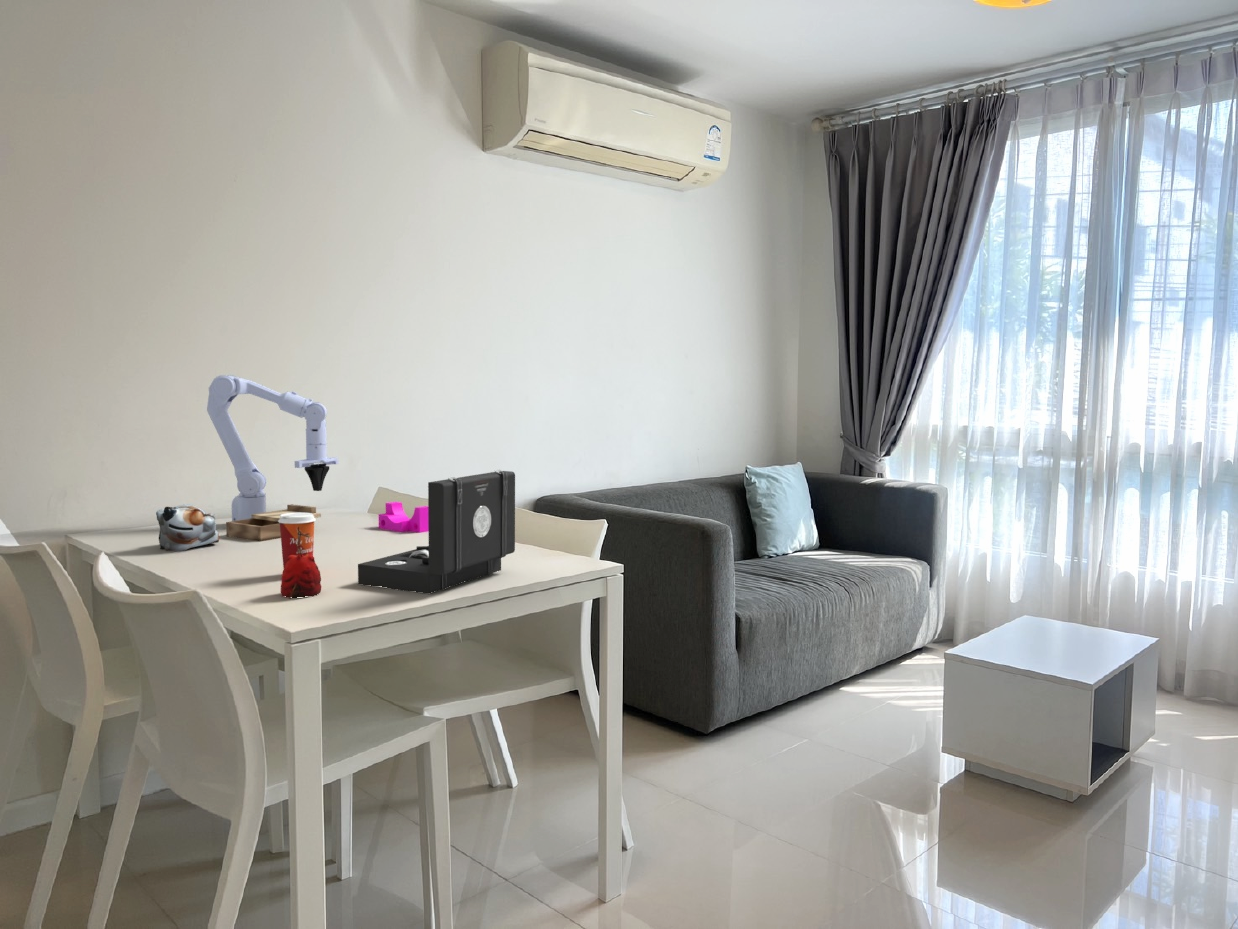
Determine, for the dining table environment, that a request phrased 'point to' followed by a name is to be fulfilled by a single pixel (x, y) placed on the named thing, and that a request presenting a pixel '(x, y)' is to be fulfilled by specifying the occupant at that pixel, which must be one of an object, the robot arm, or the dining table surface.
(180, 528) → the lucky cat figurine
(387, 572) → the watch box
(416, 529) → the toy block
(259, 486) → the robot arm
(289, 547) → the paper cup
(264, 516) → the lid
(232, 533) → the walnut box
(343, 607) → the dining table surface
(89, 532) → the dining table surface
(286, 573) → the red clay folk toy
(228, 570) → the dining table surface
